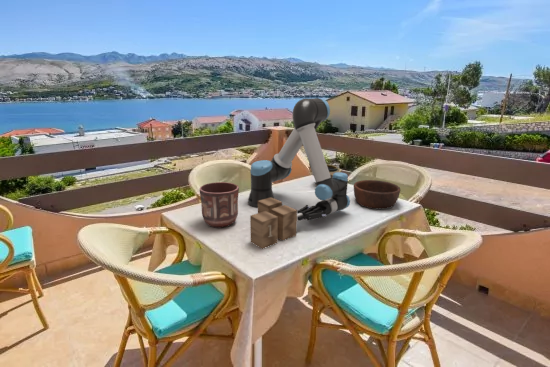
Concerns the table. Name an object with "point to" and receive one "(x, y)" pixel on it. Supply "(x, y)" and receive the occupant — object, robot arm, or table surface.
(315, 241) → the table surface
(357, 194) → the wooden bowl
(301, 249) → the table surface
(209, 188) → the pottery
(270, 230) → the walnut block marked 1
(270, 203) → the walnut block marked 2
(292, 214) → the brown wooden block
